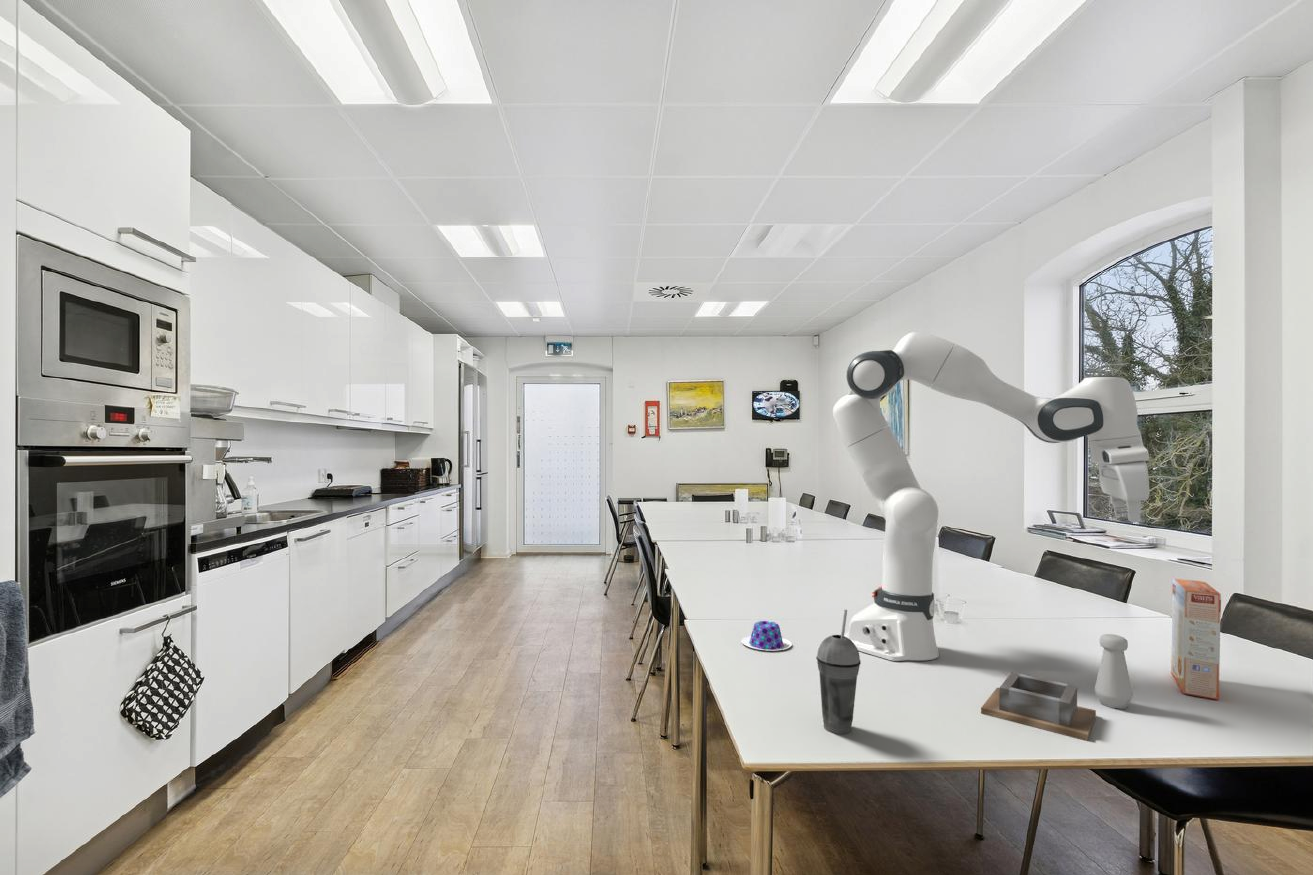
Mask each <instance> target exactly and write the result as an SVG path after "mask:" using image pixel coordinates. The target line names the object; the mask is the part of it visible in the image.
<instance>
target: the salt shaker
mask: <svg viewBox="0 0 1313 875" xmlns="http://www.w3.org/2000/svg"><path fill="white" fill-rule="evenodd" d="M1099 645H1100V647H1102V648H1103V650H1102V656H1101V659H1100V665H1099V669H1098V673H1097V677H1096V681H1095V684H1094V692H1095V694H1096V695H1097V698H1098V700H1099V702H1100V704H1101V705H1102V704H1103V706H1105V707H1107V706H1108V708H1110V707H1111V708H1110V709H1115V708H1117V710H1124V708H1125V709H1127V708H1128V706H1129V705H1130V703H1131V701H1132V699H1133V697H1134V694H1133V689H1132V685H1131V684H1132V683H1131V680H1130V675H1129V670H1128V666H1127V661H1126V660H1127V659H1126V656H1125V651H1127V650H1128V648H1129V643H1128V639H1126V637H1124V636H1120V635H1118V634H1112V633H1103V634H1102V635H1100V638H1099ZM1126 707H1127V708H1126Z"/></svg>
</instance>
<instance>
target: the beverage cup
mask: <svg viewBox="0 0 1313 875" xmlns="http://www.w3.org/2000/svg"><path fill="white" fill-rule="evenodd" d="M847 617H848V610H847V609H844V610H843V619H842V626H841V634H832V635H830V636H828V637H826V638H824V639H823V641H821V643H820V645H819V647H818V649H817V654H816V657H815V658H816V662H817V668H818V669H817V670H818V672H819V683H820V700H821V713H822V722H823V729H824V730H826V731H827V732H829V733H831V734H836V735H845V734H849V733H851V731H852V725H853V720H854V710H855V709H854V708H855V701H856V690H857V680H858V675H859V671H860V665H861V664H862V662H861V656H860V651H858V649H857V647H856V646H855V644H854V643H853V642H852V641H851V640H850V639H849V638H847V637H845V636H844V633H846V632H845V631H846V624H847Z"/></svg>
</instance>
